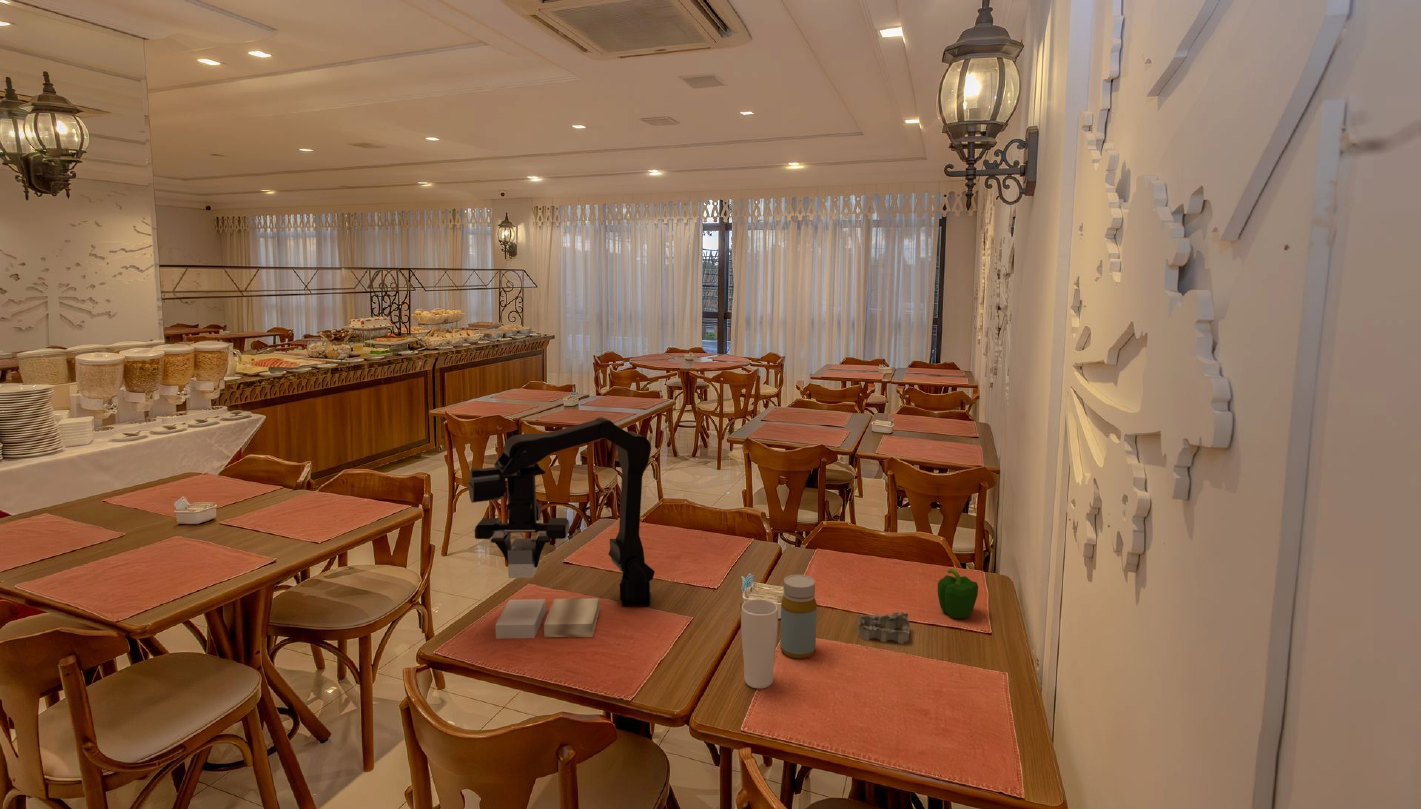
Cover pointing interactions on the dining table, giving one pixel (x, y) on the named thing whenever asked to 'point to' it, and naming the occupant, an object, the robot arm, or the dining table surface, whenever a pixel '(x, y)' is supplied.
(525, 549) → the housing
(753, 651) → the drinking glass
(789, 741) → the dining table surface
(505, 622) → the stand
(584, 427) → the robot arm
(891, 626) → the egg carton
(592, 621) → the stand
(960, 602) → the bell pepper
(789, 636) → the bottle
